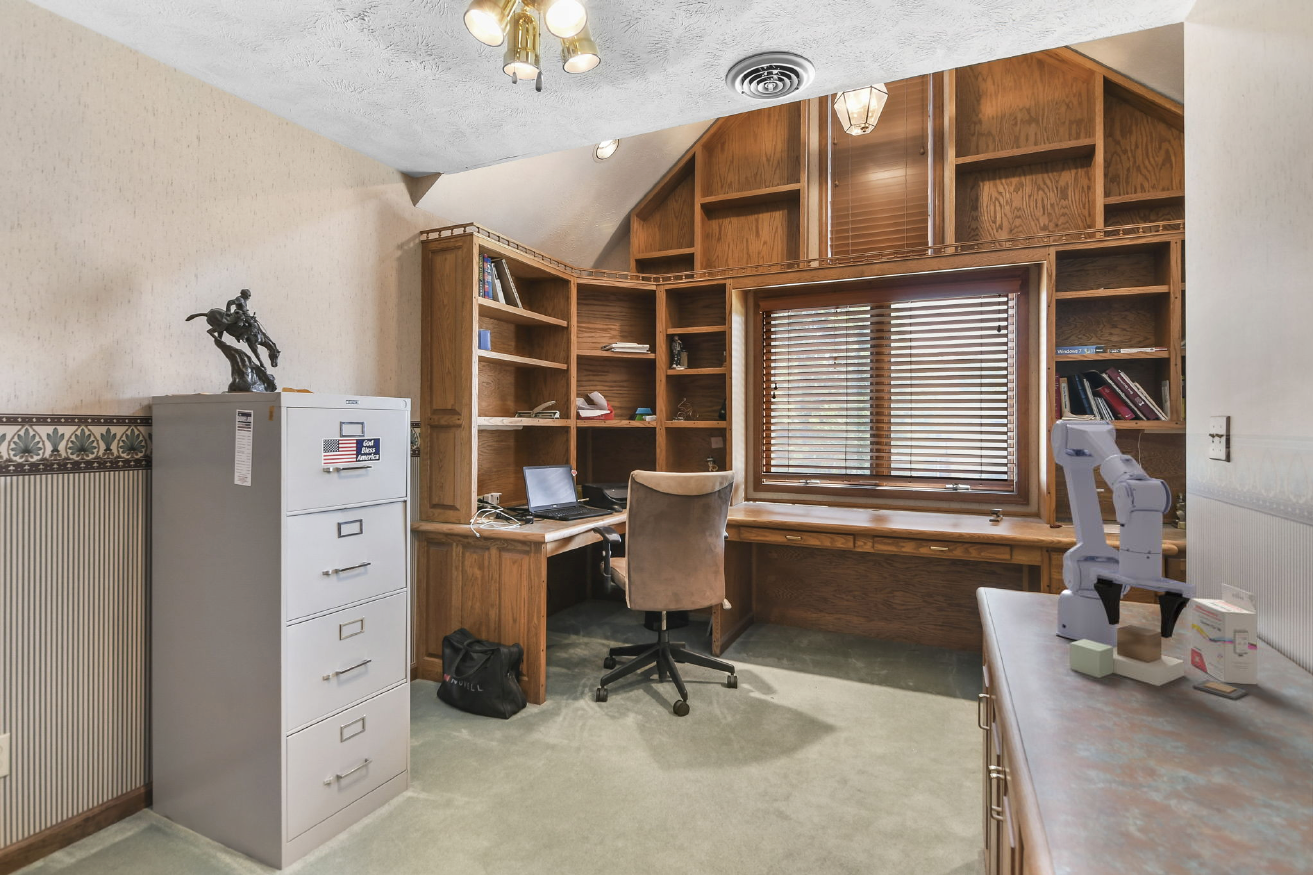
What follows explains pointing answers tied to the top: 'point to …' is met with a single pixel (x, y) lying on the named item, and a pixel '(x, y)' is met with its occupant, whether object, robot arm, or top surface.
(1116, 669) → the base block
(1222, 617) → the ink cartridge box
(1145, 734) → the top surface
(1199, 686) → the tile
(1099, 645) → the sage block
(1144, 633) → the walnut block
